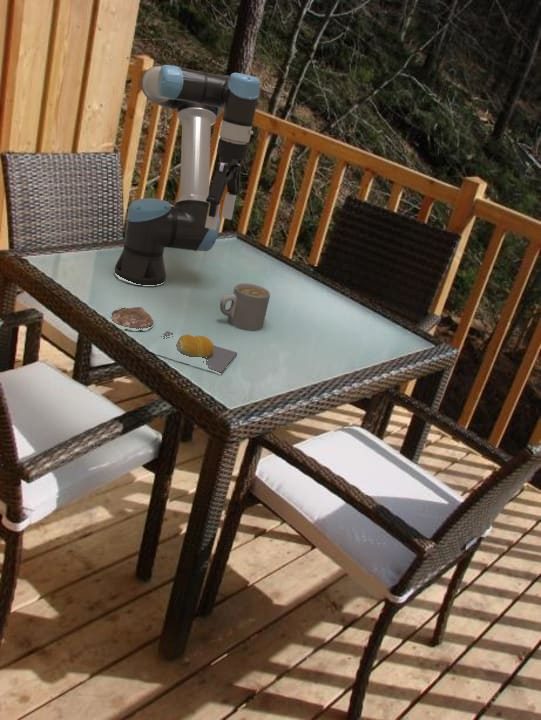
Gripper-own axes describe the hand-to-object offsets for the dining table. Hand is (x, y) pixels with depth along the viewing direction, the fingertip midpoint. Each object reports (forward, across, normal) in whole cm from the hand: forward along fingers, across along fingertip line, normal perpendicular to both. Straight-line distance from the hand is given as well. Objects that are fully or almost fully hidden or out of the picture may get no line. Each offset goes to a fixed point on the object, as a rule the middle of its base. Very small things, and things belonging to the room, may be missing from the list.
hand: (218, 223), depth 186 cm
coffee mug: (+27, +4, -10) cm, 29 cm away
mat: (+27, -24, -6) cm, 36 cm away
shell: (+27, -16, +14) cm, 35 cm away
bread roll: (+26, -24, -6) cm, 36 cm away
